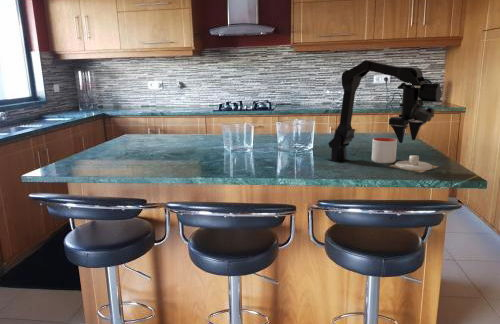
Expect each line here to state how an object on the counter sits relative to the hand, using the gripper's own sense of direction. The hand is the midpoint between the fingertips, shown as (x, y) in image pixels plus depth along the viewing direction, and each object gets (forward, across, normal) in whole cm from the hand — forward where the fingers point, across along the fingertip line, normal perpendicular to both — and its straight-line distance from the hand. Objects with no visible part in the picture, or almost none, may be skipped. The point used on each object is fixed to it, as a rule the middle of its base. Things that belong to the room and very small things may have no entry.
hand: (407, 141), depth 152 cm
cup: (+12, +8, +15) cm, 21 cm away
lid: (+12, +8, +1) cm, 14 cm away
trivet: (+12, +8, +1) cm, 14 cm away
